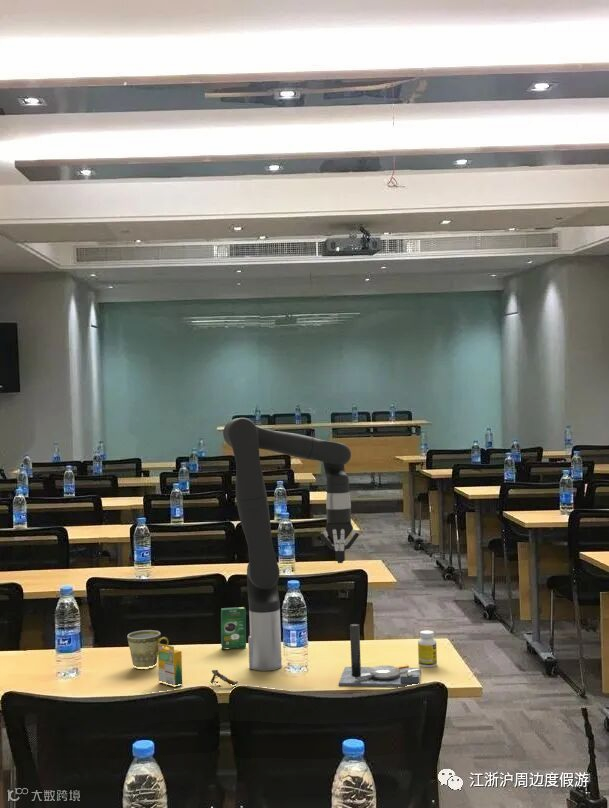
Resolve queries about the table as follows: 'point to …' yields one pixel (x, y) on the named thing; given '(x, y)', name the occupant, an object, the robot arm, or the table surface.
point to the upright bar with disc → (373, 672)
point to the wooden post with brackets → (221, 678)
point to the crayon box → (169, 664)
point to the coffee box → (233, 627)
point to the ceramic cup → (144, 647)
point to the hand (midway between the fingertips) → (340, 562)
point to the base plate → (405, 678)
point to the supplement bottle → (427, 649)
